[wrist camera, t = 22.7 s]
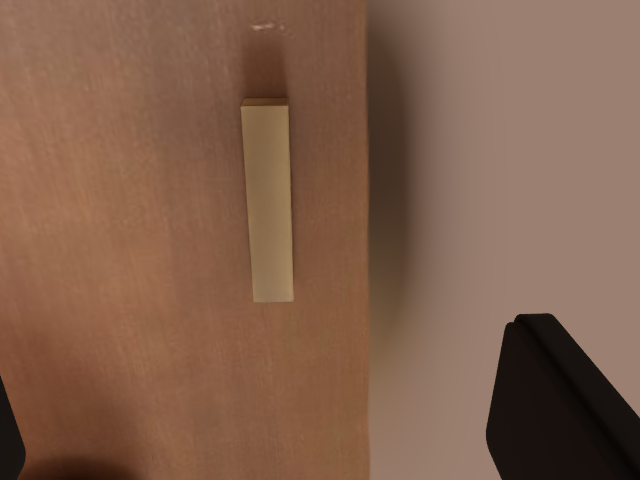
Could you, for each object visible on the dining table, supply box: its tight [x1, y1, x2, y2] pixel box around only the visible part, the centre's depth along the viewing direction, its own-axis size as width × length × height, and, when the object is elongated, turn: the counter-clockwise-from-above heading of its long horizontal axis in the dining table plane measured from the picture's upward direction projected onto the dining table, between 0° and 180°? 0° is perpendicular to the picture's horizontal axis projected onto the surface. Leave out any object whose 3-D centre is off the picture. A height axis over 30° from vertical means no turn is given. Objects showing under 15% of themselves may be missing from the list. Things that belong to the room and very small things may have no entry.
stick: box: [240, 98, 294, 303], centre depth 30 cm, size 2×12×2 cm, turn 0°
